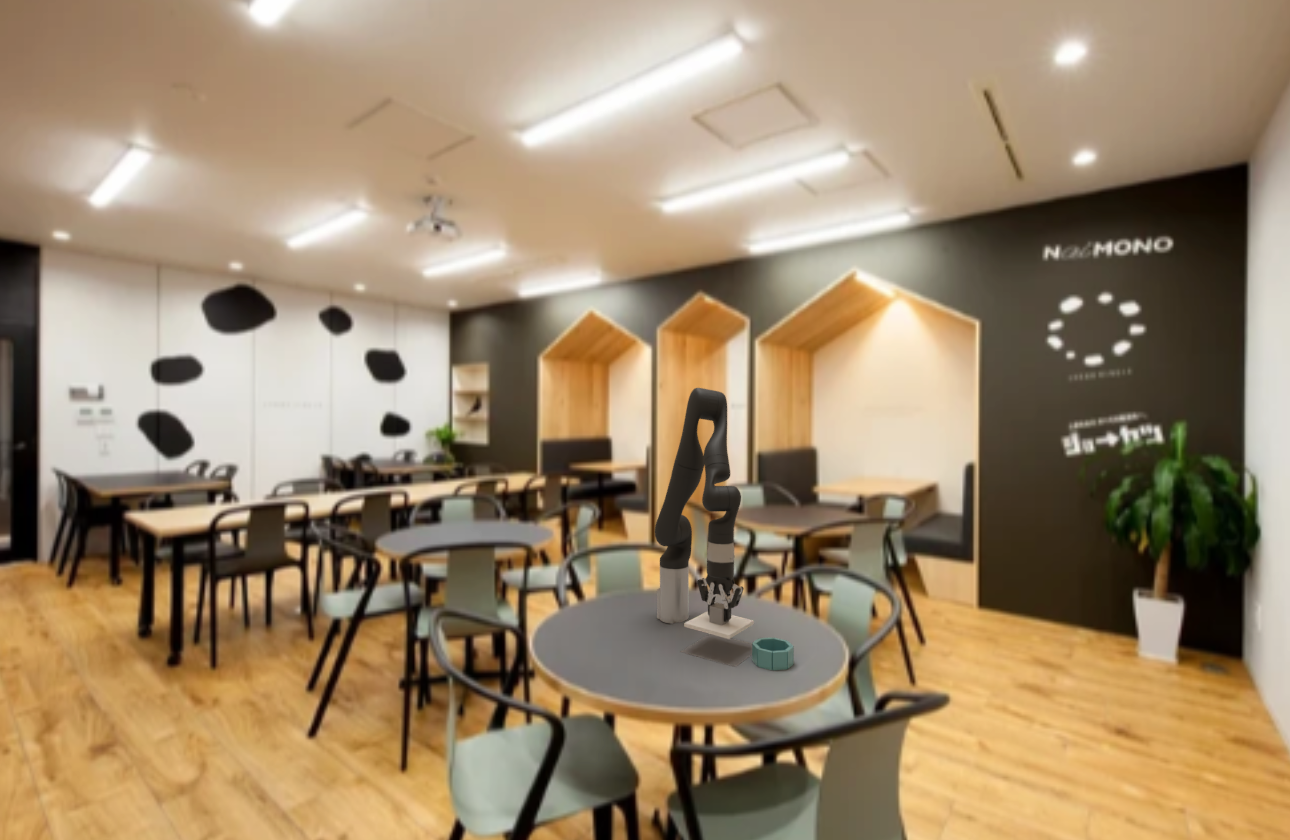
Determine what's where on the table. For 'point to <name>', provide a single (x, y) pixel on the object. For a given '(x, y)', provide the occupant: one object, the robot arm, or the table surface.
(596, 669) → the table surface
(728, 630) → the lid
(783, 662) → the bowl
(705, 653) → the mat
